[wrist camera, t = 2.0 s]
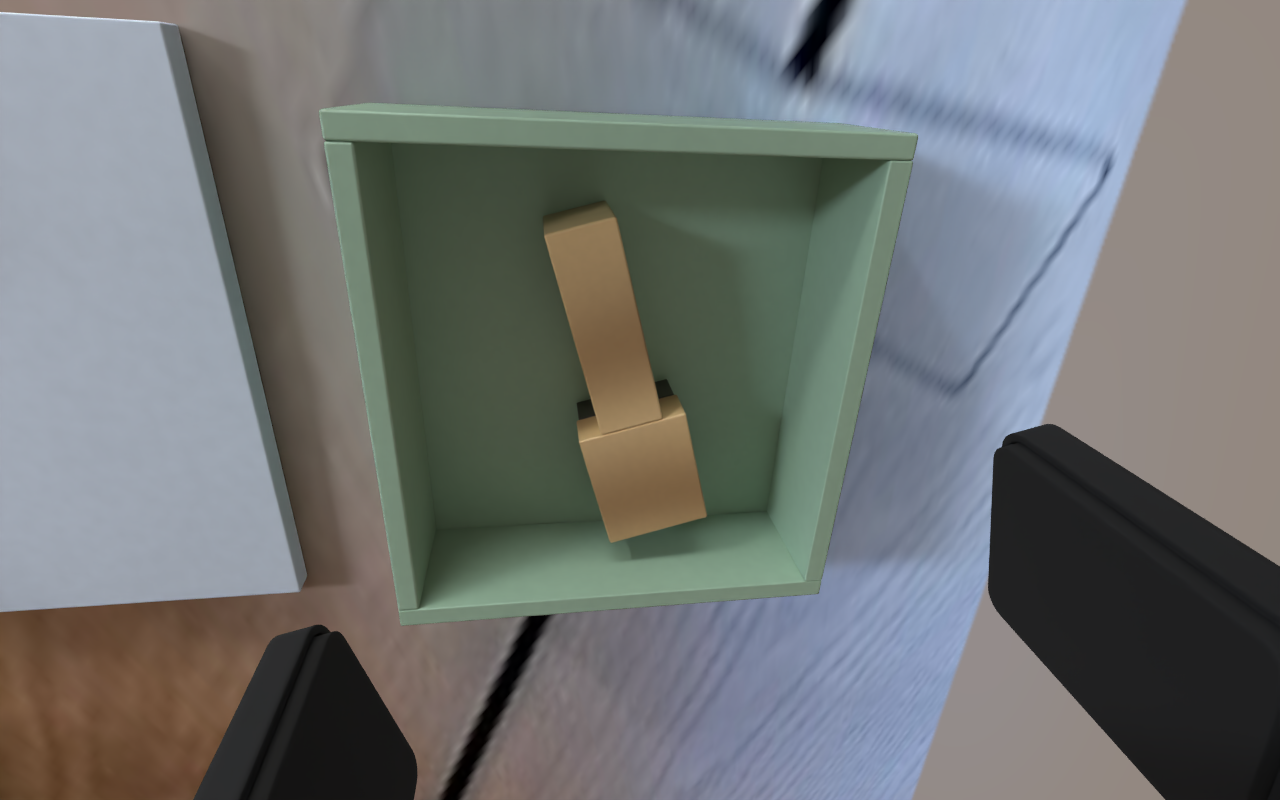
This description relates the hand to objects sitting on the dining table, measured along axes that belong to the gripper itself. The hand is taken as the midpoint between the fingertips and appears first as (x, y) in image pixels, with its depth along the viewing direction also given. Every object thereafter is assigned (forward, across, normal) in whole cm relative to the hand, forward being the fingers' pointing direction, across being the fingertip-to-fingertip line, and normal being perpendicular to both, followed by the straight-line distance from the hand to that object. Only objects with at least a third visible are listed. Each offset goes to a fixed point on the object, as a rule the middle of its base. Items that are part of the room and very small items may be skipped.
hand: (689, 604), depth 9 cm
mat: (+16, +18, -2) cm, 24 cm away
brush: (+15, 0, +2) cm, 15 cm away
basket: (+16, 0, +2) cm, 16 cm away
